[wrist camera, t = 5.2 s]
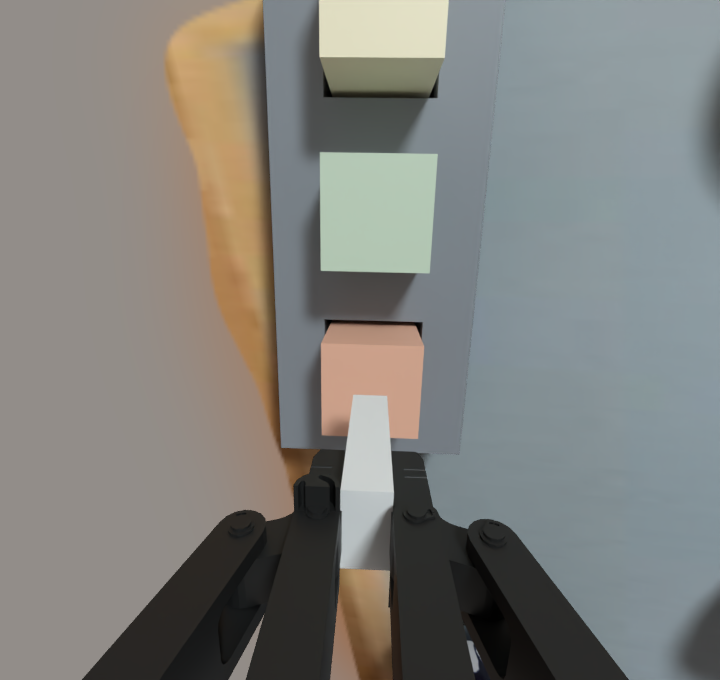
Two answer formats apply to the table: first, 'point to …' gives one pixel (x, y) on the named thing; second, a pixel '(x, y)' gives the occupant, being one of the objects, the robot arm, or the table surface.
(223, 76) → the table surface
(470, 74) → the panel
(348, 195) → the button sage
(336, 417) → the button terracotta
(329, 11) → the button cream
